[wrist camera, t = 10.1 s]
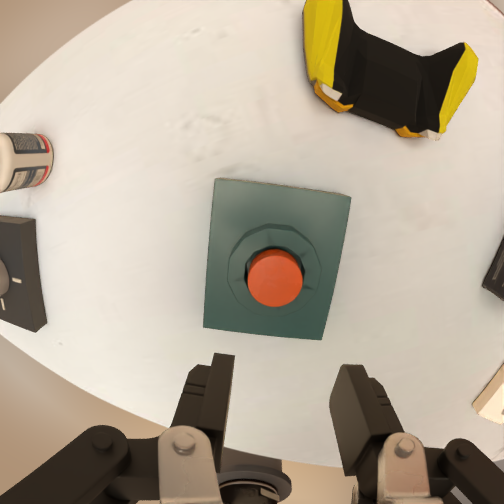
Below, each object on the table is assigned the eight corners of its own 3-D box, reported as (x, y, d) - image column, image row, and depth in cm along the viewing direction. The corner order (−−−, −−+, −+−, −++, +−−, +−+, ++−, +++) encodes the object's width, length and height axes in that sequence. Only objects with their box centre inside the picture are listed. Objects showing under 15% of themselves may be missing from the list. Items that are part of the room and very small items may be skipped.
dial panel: (47, 322, 28) (34, 333, 25) (-4, 304, 28) (-16, 313, 25) (35, 219, 24) (19, 224, 22) (-16, 213, 24) (-31, 218, 22)
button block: (317, 327, 26) (325, 352, 23) (207, 315, 26) (198, 338, 23) (343, 194, 23) (359, 199, 19) (219, 177, 23) (210, 179, 19)
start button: (295, 299, 22) (297, 309, 20) (246, 293, 22) (244, 303, 20) (303, 252, 21) (307, 259, 19) (251, 245, 21) (250, 252, 19)
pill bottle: (22, 136, 22) (-40, 136, 14) (56, 131, 22) (-9, 127, 14) (19, 186, 24) (-42, 198, 15) (53, 186, 24) (-13, 199, 15)
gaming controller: (305, 2, 19) (279, 97, 21) (314, -31, 13) (284, 77, 16) (453, 65, 19) (440, 157, 22) (486, 51, 14) (477, 157, 16)
